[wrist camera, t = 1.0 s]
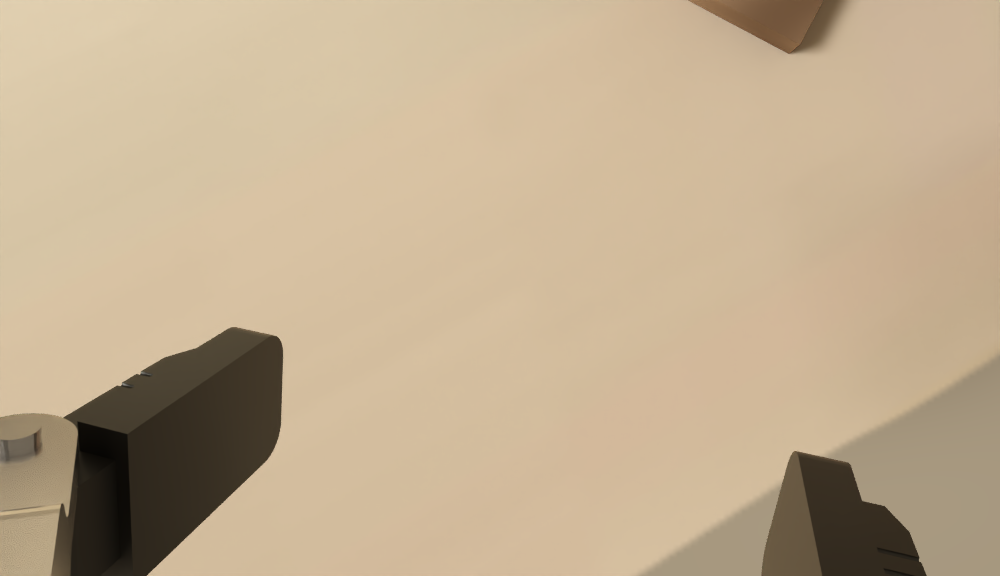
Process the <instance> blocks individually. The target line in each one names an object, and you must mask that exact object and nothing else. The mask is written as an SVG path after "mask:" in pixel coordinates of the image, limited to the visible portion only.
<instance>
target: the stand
mask: <svg viewBox="0 0 1000 576" xmlns="http://www.w3.org/2000/svg"><path fill="white" fill-rule="evenodd" d="M689 1H690V2H692V3H694V4H696V5H698V6H700V7H702V8H704V9H706V10H707V11H709V12H711V13H713V14H715V15H717V16H719V17H721V18H723V19H724V20H726V21H728V22H730V23H732V24H734V25H736V26H738V27H739V28H741V29H743V30H745V31H747V32H749V33H751V34H753V35H755V36H756V37H758V38H760V39H762V40H764V41H766V42H768V43H770V44H771V45H773V46H775V47H777V48H779V49H781V50H783V51H785V52H787V53H788V54H789V53H791V52H792V51H793V50H794V49H795V48H796V47H798V46H799V45H800V44H801V42H802V40H803V38H804V36H805V34H806V32H807V30H808V28H809V27H810V25H811V23H812V21H813V19H814V17H815V15H816V13H817V11H818V10H819V8H820V6H821V4H822V2H823V0H689Z"/></svg>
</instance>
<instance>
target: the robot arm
mask: <svg viewBox="0 0 1000 576" xmlns="http://www.w3.org/2000/svg"><path fill="white" fill-rule="evenodd" d="M282 371H283V348H282V343H281V341H280V339H279V338H278V337H277V336H273V335H269V334H264V333H259V332H255V331H250V330H246V329H241V328H237V327H231V328H229V329H227V330H226V331H224V332H222V333H221V334H219V335H217V336H216V337H214V338H212V339H211V340H209V341H208V342H206V343H204V344H203V345H201V346H199V347H198V348H195V349H192V350H189V351H185V352H182V353H178V354H175V355H172V356H168V357H165V358H163V359H161V360H160V361H158V362H156V363H155V364H153V365H151V366H149V367H148V368H146V369H144V370H143V371H141V374H140V375H138V374H136V375H134V376H133V377H131V378H129V379H128V380H126V381H124V382H122V386H116V387H114V388H112V389H111V390H109V391H107V392H106V393H104V394H102V395H101V396H99V397H97V398H96V399H94V400H92V401H90V402H89V403H87V404H85V405H84V406H82V407H80V408H79V409H77V410H75V411H74V412H72V413H70V414H69V415H67V416H65V417H63V418H62V417H59V416H55V415H49V414H35V413H31V414H17V415H10V416H4V417H0V576H147V575H148V574H149V573H150V572H151V571H152V570H153V569H154V568H155V567H156V566H157V565H158V564H159V563H160V562H161V561H162V560H163V559H164V558H166V557H167V556H168V555H169V554H170V553H171V552H172V551H173V550H174V549H175V548H176V547H177V546H178V545H179V544H180V543H181V542H182V541H183V540H184V539H185V538H186V537H187V536H188V535H189V534H191V533H192V532H193V531H194V530H195V529H196V528H197V527H198V526H199V525H200V524H201V523H202V522H203V521H204V520H205V519H206V518H207V517H208V516H209V515H210V514H211V513H212V512H213V511H214V510H216V509H217V508H218V507H219V506H220V505H221V504H222V503H223V502H224V501H225V500H226V499H227V498H228V497H229V496H230V495H231V494H232V493H233V492H234V491H235V490H236V489H237V488H238V487H240V486H241V485H242V484H243V483H244V482H245V481H246V480H247V479H248V478H249V477H250V476H251V475H252V474H253V473H254V472H255V471H256V470H257V469H258V468H259V467H260V466H261V465H262V464H263V463H265V461H266V460H267V459H268V458H269V456H270V455H271V453H272V452H273V450H274V448H275V445H276V443H277V440H278V437H279V432H280V427H281V404H282ZM762 576H926V573H925V571H924V568H923V566H922V564H921V562H919V556H918V553H917V550H916V548H915V545H914V543H913V540H912V538H911V535H910V533H909V531H908V530H907V529H906V528H905V527H904V526H903V525H902V524H901V523H900V522H899V521H898V520H897V519H896V518H895V517H894V516H893V515H892V513H891V512H890V511H889V510H888V509H887V508H886V507H885V506H881V505H877V504H872V503H868V502H863V501H862V500H861V496H860V493H859V490H858V487H857V484H856V481H855V478H854V474H853V471H852V468H851V465H850V464H849V463H847V462H843V461H838V460H834V459H829V458H825V457H820V456H816V455H811V454H806V453H802V452H797V451H794V452H793V453H792V455H791V457H790V459H789V462H788V465H787V468H786V472H785V476H784V479H783V483H782V487H781V491H780V494H779V498H778V502H777V505H776V509H775V513H774V516H773V520H772V524H771V528H770V531H769V535H768V539H767V543H766V547H765V552H764V558H763V566H762Z"/></svg>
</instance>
